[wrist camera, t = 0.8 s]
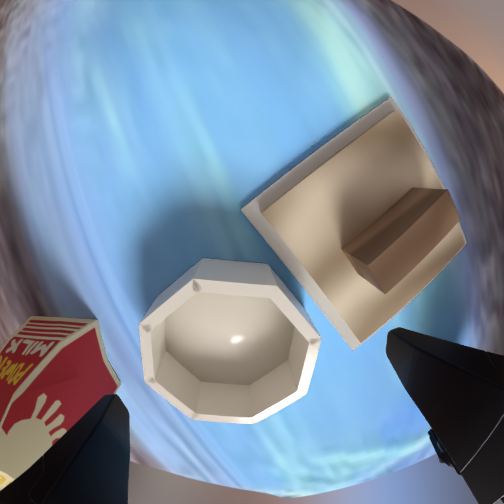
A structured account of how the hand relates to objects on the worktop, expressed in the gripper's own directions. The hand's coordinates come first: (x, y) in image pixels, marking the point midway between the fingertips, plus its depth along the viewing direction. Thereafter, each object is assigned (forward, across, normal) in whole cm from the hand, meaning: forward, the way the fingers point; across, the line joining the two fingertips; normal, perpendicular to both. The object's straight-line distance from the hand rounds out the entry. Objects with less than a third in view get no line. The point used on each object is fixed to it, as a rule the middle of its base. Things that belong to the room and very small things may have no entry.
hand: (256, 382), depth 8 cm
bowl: (+14, +1, +7) cm, 15 cm away
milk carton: (+15, +18, +8) cm, 24 cm away
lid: (+12, -12, 0) cm, 18 cm away
